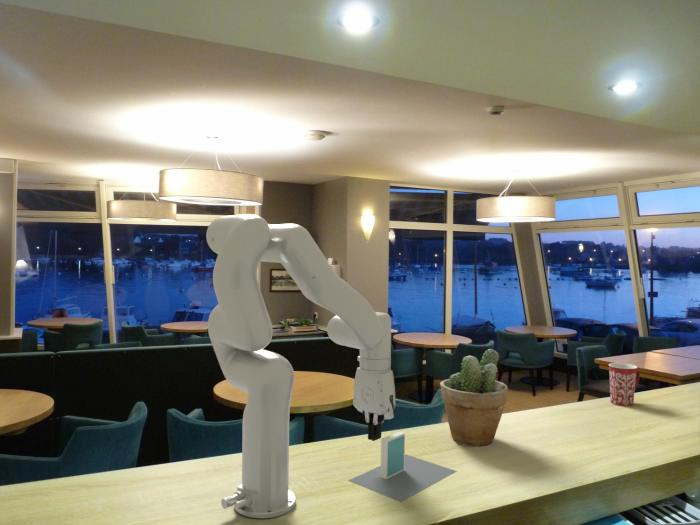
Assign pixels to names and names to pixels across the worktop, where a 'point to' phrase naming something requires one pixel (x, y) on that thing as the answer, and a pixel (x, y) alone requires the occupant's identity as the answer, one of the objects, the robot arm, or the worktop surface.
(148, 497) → the worktop surface
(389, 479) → the mat
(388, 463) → the tile
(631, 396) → the mug
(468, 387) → the potted plant
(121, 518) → the worktop surface
